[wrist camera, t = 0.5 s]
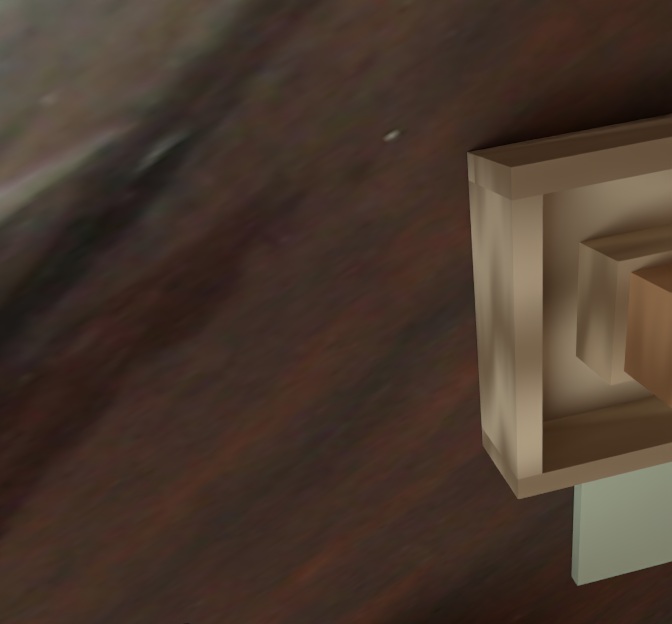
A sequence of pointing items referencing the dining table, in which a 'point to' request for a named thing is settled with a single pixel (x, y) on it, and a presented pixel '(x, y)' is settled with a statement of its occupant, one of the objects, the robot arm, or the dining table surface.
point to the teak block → (650, 331)
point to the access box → (568, 300)
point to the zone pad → (622, 524)
